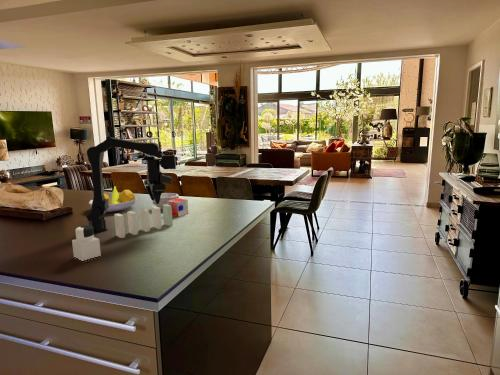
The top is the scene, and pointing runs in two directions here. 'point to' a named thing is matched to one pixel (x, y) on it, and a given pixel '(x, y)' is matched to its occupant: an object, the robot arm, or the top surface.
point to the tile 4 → (156, 217)
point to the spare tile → (167, 215)
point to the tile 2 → (132, 222)
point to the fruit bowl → (119, 200)
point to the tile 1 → (119, 225)
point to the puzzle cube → (178, 206)
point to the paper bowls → (165, 199)
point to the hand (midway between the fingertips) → (155, 202)
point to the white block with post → (85, 243)
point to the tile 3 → (144, 220)
